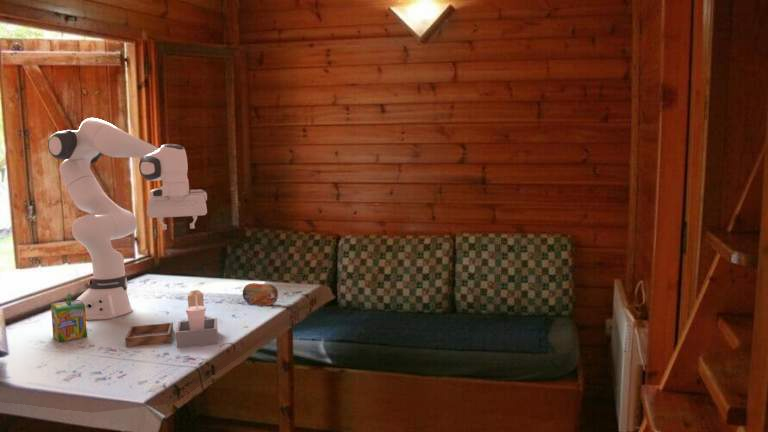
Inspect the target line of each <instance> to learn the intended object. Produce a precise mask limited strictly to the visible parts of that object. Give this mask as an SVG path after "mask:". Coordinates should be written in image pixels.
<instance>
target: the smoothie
mask: <svg viewBox="0 0 768 432" xmlns="http://www.w3.org/2000/svg"><path fill="white" fill-rule="evenodd" d="M195 300H196V306H192V307H187V308H185V313H186V315H187V321H189V326H190V330H201V329H204V319H206V318H205V317H206V311H207V310H206V309H207V308H206V306H205V305H204V306H198V303H197V295H195Z"/></svg>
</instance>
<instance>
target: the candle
mask: <svg viewBox="0 0 768 432" xmlns="http://www.w3.org/2000/svg"><path fill="white" fill-rule="evenodd" d="M195 295H197V303H198V306H204V307H205V301H204V293H202V292H201V290H199V289H194V290H191V291H190V292H189V293H188V294H187V304H188V305H187V306H188V307H192V306H196V300H195ZM188 307H187V308H188Z"/></svg>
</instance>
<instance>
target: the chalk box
mask: <svg viewBox="0 0 768 432" xmlns="http://www.w3.org/2000/svg"><path fill="white" fill-rule="evenodd" d="M72 298H73V295H72V294H71V293H68V294H67V297H66V301H61V302H53V303H51V304H50V310H51V311H50V312H51V324H52V326H51V327H52V336H53V337H54V339H55V340H57V342H58V343H62V342H68V341H73V340H79V339H83V338H87V337H88V330H87V329H88V328H87V320H86V314H85V304H83V303H82V302H81V301H80V300H76V299H75V300H74V299H73V300H72Z"/></svg>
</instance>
